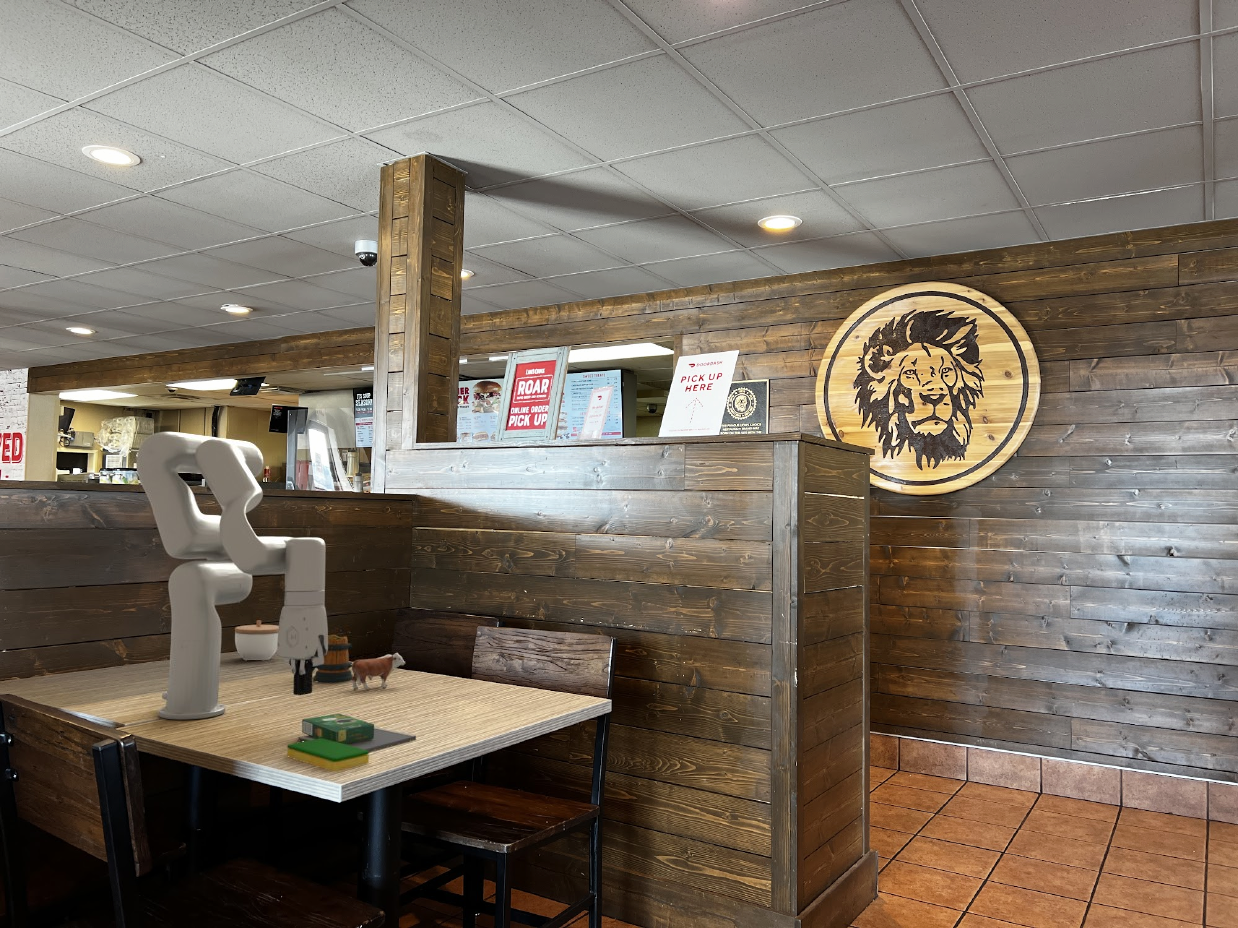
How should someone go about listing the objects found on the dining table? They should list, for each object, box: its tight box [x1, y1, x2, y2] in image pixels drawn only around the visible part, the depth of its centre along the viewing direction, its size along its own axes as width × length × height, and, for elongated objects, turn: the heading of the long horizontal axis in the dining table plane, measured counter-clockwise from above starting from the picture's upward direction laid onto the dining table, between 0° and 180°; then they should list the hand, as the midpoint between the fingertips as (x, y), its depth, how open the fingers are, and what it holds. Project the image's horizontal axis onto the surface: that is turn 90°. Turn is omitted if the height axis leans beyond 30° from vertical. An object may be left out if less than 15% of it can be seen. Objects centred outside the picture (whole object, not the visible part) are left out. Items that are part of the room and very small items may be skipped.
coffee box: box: [301, 713, 375, 744], centre depth 165 cm, size 8×3×13 cm
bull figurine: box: [351, 652, 406, 691], centre depth 218 cm, size 4×13×8 cm, turn 127°
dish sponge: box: [286, 738, 370, 772], centre depth 152 cm, size 7×14×2 cm, turn 53°
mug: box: [313, 634, 354, 684], centre depth 228 cm, size 13×10×12 cm
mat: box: [297, 726, 417, 752], centre depth 166 cm, size 16×14×1 cm
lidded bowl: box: [234, 620, 279, 661], centre depth 257 cm, size 13×13×11 cm
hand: (302, 693), depth 174 cm, fingers closed
